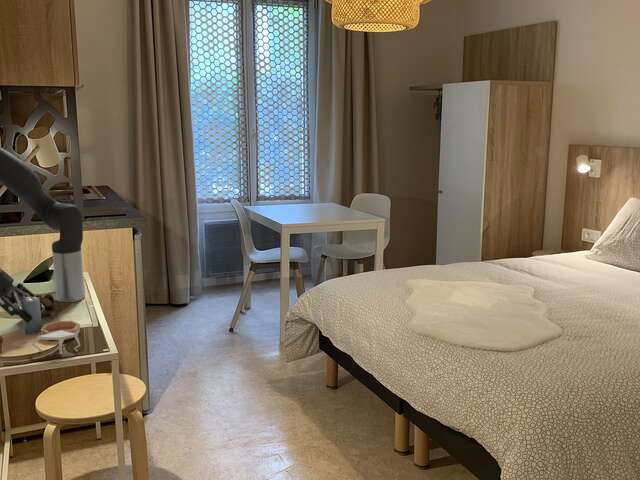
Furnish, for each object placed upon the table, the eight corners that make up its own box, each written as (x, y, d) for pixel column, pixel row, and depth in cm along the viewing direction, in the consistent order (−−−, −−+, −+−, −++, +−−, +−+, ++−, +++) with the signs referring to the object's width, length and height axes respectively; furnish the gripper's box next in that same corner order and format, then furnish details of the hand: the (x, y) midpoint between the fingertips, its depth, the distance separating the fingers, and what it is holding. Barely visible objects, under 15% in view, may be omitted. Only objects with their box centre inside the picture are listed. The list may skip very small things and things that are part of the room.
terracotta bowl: (49, 328, 197) (48, 320, 196) (83, 328, 198) (82, 320, 197) (37, 341, 187) (37, 333, 187) (73, 340, 188) (72, 332, 188)
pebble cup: (27, 328, 197) (24, 295, 195) (44, 328, 197) (41, 294, 195) (21, 334, 192) (18, 300, 190) (38, 334, 192) (35, 300, 190)
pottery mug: (52, 324, 202) (36, 304, 199) (29, 334, 205) (12, 315, 201) (68, 303, 213) (52, 283, 210) (45, 313, 215) (29, 294, 212)
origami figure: (77, 342, 187) (75, 326, 186) (81, 352, 180) (79, 335, 179) (31, 349, 182) (30, 332, 181) (34, 360, 175) (32, 342, 174)
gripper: (-10, 276, 183) (36, 315, 186) (10, 263, 197) (52, 299, 200) (-27, 295, 184) (18, 332, 187) (-7, 280, 197) (35, 316, 201)
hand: (35, 315), depth 194 cm, fingers open, 8 cm apart
